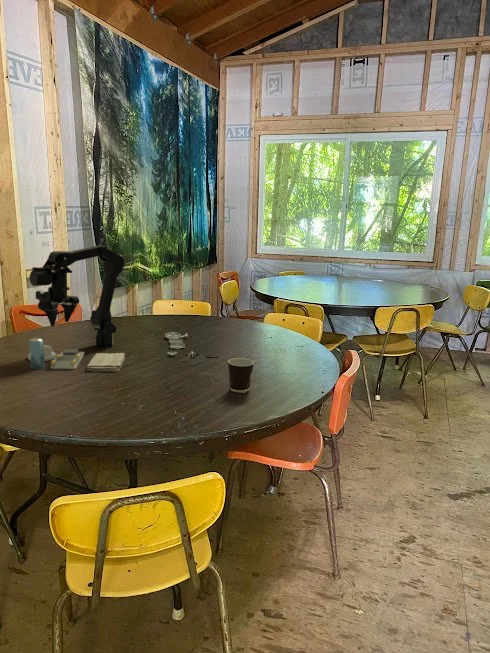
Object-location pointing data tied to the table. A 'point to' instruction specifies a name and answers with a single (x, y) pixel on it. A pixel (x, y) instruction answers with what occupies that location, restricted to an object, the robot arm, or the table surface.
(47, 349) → the mechanical component
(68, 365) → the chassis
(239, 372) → the dark brown cup
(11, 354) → the table surface
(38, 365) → the cylinder
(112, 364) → the washcloth
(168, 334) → the drone parts
